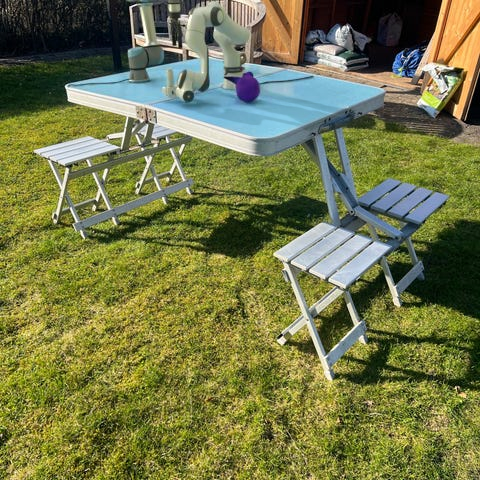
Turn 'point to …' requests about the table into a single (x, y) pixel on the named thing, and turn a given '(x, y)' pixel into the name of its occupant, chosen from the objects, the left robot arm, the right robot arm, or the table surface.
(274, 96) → the table surface
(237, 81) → the toy
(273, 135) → the table surface
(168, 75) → the cream long cylinder
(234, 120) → the table surface
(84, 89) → the table surface
